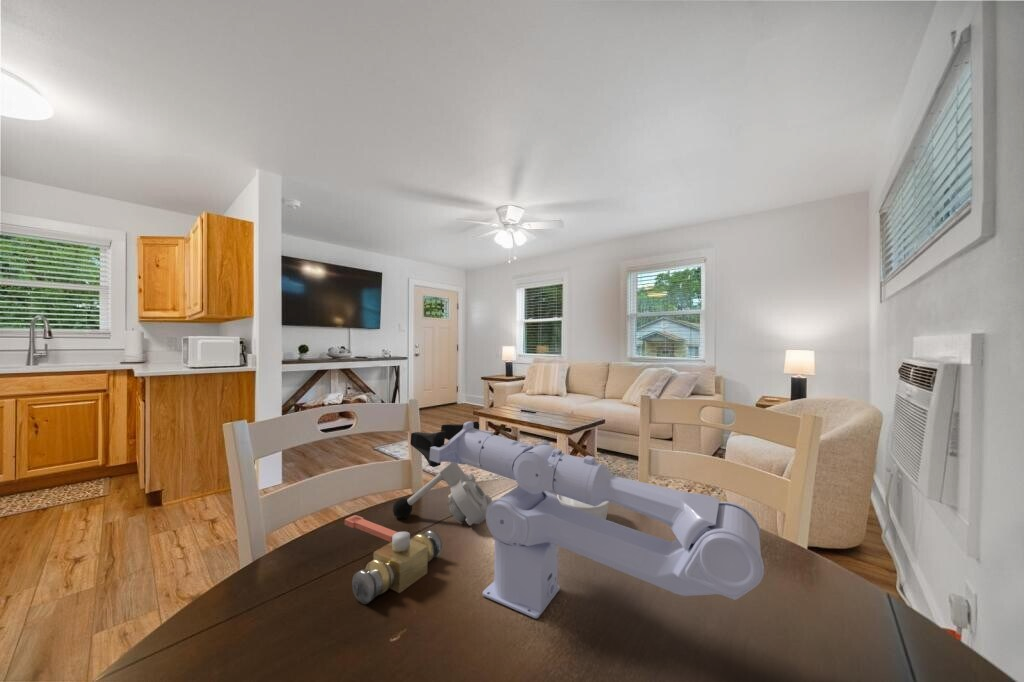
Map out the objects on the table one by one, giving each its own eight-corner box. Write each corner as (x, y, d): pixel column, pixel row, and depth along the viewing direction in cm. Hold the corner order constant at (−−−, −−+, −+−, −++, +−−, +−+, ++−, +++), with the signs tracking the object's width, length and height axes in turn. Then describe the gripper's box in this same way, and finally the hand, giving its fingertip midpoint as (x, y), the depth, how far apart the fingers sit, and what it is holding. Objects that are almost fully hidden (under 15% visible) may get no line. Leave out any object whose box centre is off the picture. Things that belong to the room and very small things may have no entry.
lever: (413, 545, 62) (413, 534, 62) (400, 553, 60) (400, 541, 60) (356, 522, 70) (356, 513, 70) (342, 529, 68) (343, 519, 68)
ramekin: (547, 514, 85) (547, 491, 85) (588, 506, 90) (588, 484, 90) (575, 538, 75) (576, 511, 75) (620, 527, 80) (620, 502, 80)
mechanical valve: (491, 519, 77) (445, 459, 78) (423, 575, 77) (379, 515, 78) (497, 502, 87) (457, 450, 89) (437, 552, 87) (398, 498, 89)
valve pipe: (420, 550, 70) (420, 524, 70) (445, 560, 67) (445, 532, 67) (348, 595, 57) (348, 563, 57) (374, 610, 54) (375, 576, 54)
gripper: (514, 420, 68) (455, 406, 75) (463, 437, 55) (398, 418, 62) (511, 459, 68) (452, 442, 75) (459, 484, 56) (395, 461, 63)
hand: (427, 434), depth 69 cm, fingers open, 7 cm apart
